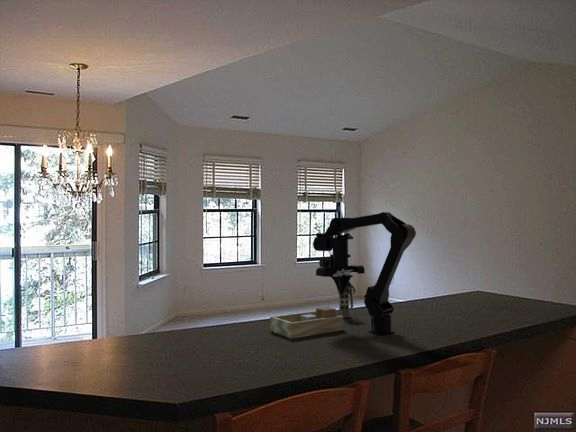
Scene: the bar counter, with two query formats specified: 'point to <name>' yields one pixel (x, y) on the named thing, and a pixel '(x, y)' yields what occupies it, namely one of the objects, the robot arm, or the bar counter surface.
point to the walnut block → (325, 312)
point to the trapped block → (307, 317)
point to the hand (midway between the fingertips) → (340, 294)
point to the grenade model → (346, 301)
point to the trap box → (304, 325)
